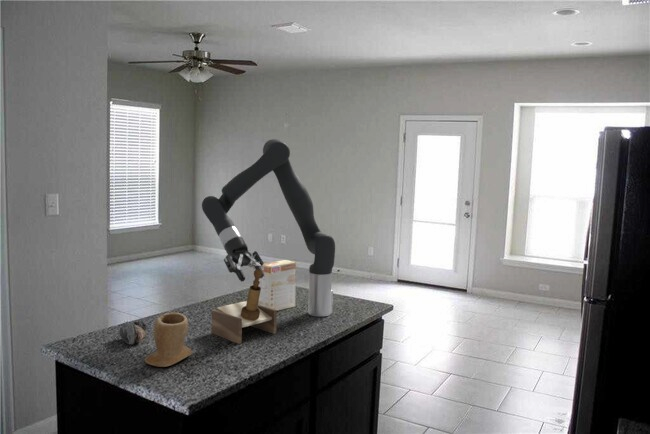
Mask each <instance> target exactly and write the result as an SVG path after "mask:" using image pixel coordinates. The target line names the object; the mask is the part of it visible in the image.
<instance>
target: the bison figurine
mask: <svg viewBox="0 0 650 434" xmlns="http://www.w3.org/2000/svg"><path fill="white" fill-rule="evenodd" d="M147 325H148V323H147V322H146V321H144V320H138V321H134V322H133V323H132V322H128V321H125V322H123V324H122V325H121V327H120V328H119V331H118V334H119V336H120V338H121V340H122V341H124V342H125V343H126V344H128V345H134V344H135V343H136V344H138V343H141V342H142V340H143V339H144V338H145V336H146V331H147V329H148V326H147Z"/></svg>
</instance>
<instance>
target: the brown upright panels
mask: <svg viewBox="0 0 650 434" xmlns="http://www.w3.org/2000/svg"><path fill="white" fill-rule="evenodd" d="M257 307H258V308H259V309H261V310H262V311H263V312H265V313H266V314H268V315H269V316H271V317H272V320H269V321H265V322H262V323H258V324H254V325H250V327H254V328H257V329H259V330H261V331H265V332H268V333H271V334H277V318H278V317H277V316H278V315H277V313H278V312H277V310H275V309H271V308H268V307H265V306H261V305H259V304H258V305H257ZM242 333H243V329H242V319H241V318H238V317H235V316H232V315H229V314H226V313H223V312H220V311H218V310H217V309H211V334H212V335H215V336H217V337H220V338H222V339H226V340H228V341H231V342H233V343H235V344H238V345H240V344H242V343H243V340H242V337H243V335H242Z"/></svg>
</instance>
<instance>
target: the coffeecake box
mask: <svg viewBox="0 0 650 434" xmlns="http://www.w3.org/2000/svg"><path fill="white" fill-rule="evenodd" d="M263 263H264V264H263V265H262V266H261V268H262V270H263V272H264V276H263V277H262V278H260V279H259V282H260V283H259V287H260V288H261V291H260V296H259V301H258V305H261V306H265V307H268V308H271V309H275V310H277V311H283V310H286V309H290V308H294V307H296V281H297V280H296V279H297V278H296V273H297V272H296V271H297V270H296V269H297V268H296V267H297V265H296V263H297V262H296V261H293V260H292V261H291V260H288V259H282V260H277V261H270V262H263Z"/></svg>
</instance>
